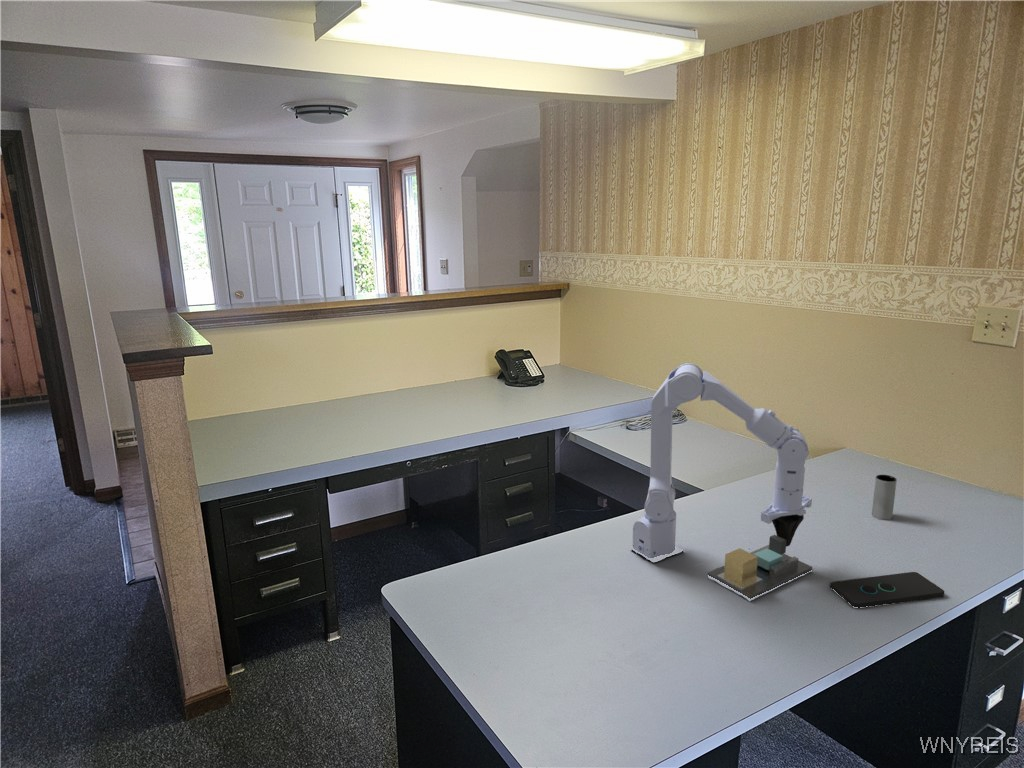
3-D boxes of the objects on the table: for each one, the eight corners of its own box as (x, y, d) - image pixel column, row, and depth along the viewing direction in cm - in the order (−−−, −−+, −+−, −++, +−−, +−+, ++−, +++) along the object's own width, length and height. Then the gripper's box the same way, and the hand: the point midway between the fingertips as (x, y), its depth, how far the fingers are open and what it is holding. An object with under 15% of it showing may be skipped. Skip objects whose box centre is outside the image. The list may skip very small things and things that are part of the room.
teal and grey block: (768, 570, 137) (770, 548, 136) (752, 562, 140) (754, 541, 139) (786, 562, 140) (788, 540, 139) (771, 554, 143) (772, 533, 142)
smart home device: (828, 581, 134) (915, 570, 137) (827, 588, 134) (914, 577, 137) (855, 603, 126) (946, 591, 129) (854, 611, 126) (945, 599, 129)
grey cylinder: (887, 512, 166) (891, 474, 164) (895, 520, 162) (900, 481, 159) (868, 512, 167) (872, 474, 164) (876, 519, 162) (880, 481, 160)
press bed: (750, 601, 130) (751, 587, 129) (707, 577, 139) (708, 564, 138) (812, 571, 140) (813, 558, 139) (768, 551, 149) (769, 538, 148)
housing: (741, 585, 133) (743, 563, 131) (724, 575, 136) (725, 554, 135) (756, 578, 135) (757, 556, 134) (738, 569, 139) (739, 548, 137)
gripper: (783, 500, 132) (778, 561, 135) (826, 484, 139) (821, 542, 142) (754, 489, 137) (750, 547, 141) (797, 474, 145) (792, 530, 148)
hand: (784, 544), depth 142 cm, fingers closed
